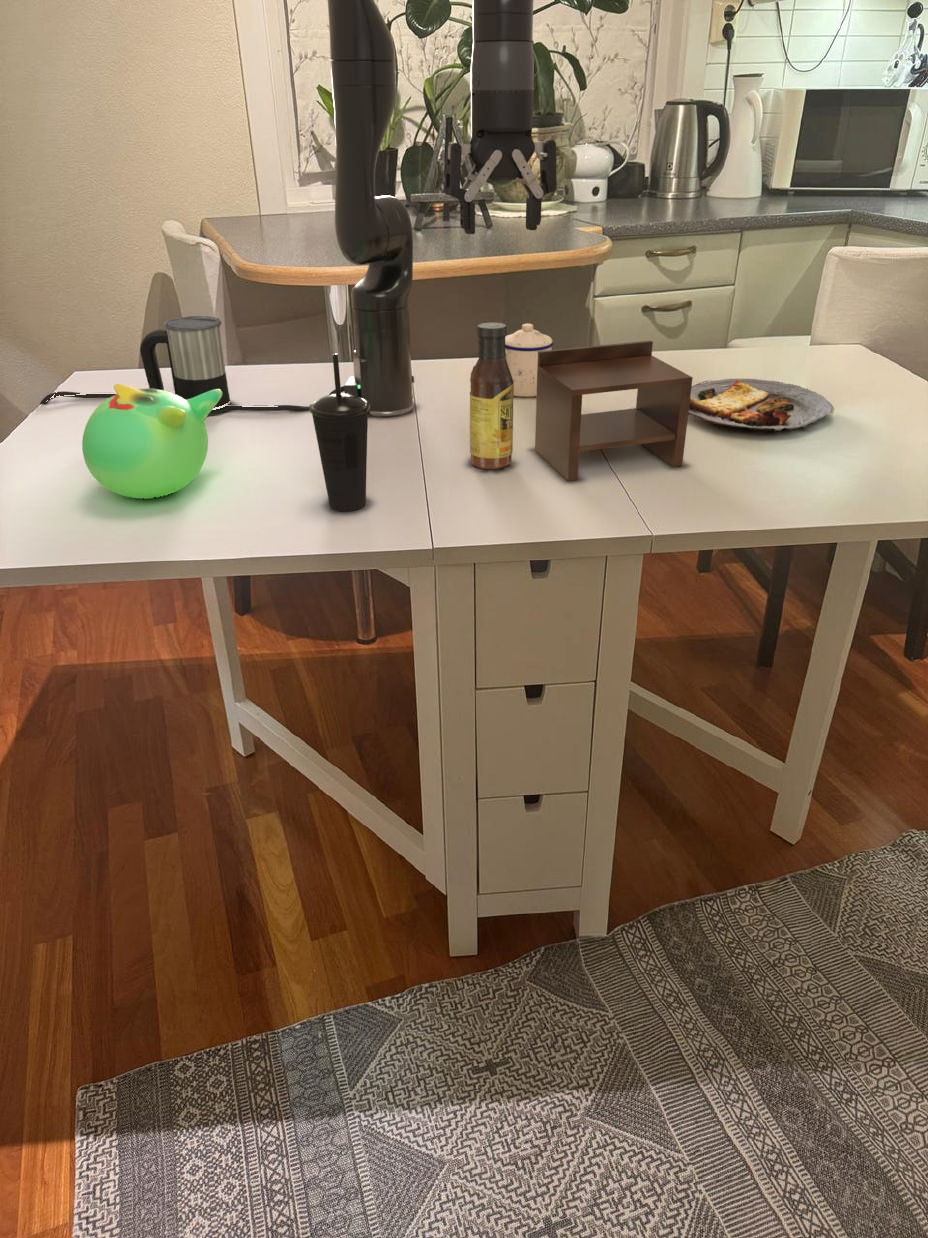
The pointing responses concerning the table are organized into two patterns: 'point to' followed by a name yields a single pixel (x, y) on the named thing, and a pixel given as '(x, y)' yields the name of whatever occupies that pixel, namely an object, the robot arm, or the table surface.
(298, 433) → the table surface
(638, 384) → the shelf
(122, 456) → the toy bird
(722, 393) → the food plate
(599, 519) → the table surface
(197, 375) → the milk frother
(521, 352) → the teacup with lid
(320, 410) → the drinking cup
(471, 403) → the sauce bottle
